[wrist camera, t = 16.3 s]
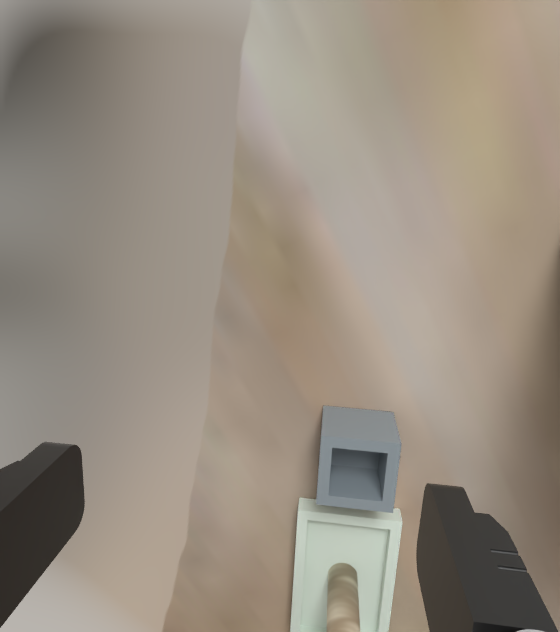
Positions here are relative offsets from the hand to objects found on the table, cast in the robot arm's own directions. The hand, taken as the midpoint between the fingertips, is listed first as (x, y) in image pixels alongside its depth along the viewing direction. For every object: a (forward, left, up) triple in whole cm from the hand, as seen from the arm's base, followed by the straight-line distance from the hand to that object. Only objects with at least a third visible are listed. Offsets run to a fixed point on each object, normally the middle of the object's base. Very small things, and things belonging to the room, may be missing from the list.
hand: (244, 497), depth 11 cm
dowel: (-5, +31, -32) cm, 45 cm away
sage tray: (-5, +31, -33) cm, 46 cm away
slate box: (-5, +16, -33) cm, 37 cm away
